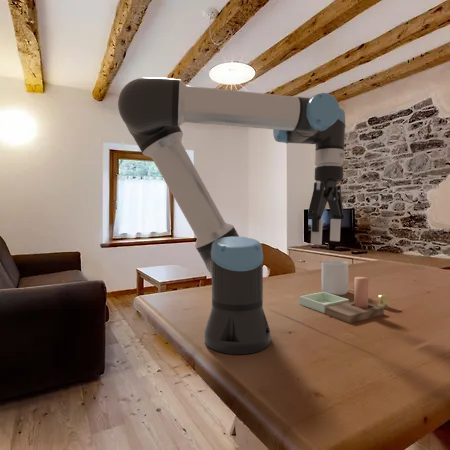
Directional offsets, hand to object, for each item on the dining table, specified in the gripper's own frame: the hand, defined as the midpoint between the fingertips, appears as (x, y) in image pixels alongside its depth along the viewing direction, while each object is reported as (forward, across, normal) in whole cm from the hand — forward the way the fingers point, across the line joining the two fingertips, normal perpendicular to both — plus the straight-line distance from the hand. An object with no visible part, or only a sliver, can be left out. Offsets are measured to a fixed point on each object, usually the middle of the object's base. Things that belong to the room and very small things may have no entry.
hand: (326, 242), depth 91 cm
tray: (+20, +6, +2) cm, 21 cm away
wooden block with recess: (+21, +4, -8) cm, 23 cm away
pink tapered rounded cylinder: (+20, +6, -8) cm, 22 cm away
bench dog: (+20, +16, -12) cm, 28 cm away
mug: (+20, +26, +6) cm, 33 cm away
